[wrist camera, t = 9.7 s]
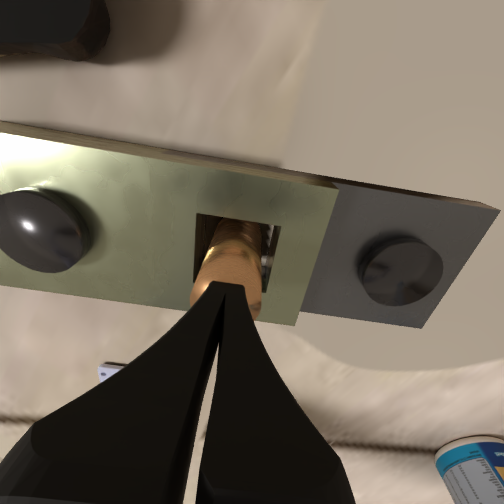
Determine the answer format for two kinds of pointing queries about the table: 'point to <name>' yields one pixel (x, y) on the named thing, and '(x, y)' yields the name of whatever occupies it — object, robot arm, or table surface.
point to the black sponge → (54, 27)
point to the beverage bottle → (473, 470)
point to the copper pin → (233, 261)
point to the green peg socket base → (230, 206)
